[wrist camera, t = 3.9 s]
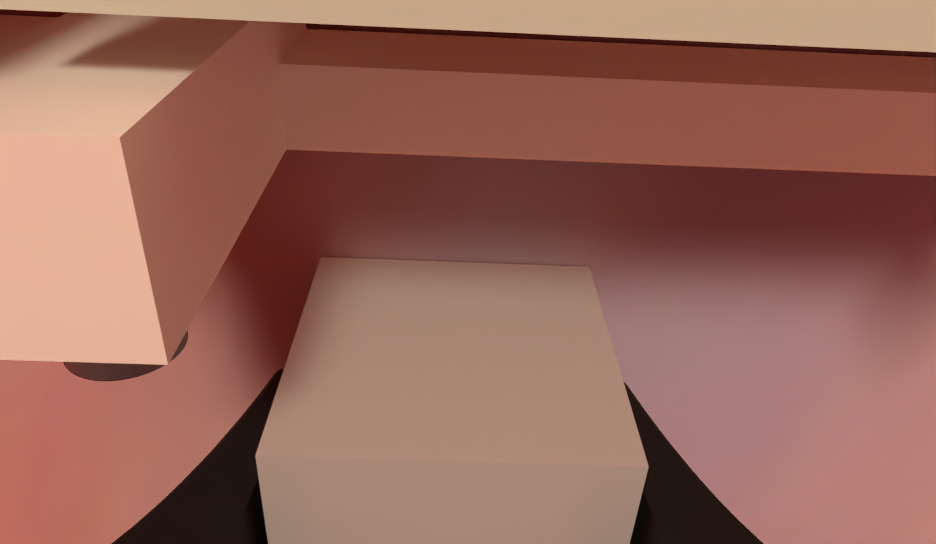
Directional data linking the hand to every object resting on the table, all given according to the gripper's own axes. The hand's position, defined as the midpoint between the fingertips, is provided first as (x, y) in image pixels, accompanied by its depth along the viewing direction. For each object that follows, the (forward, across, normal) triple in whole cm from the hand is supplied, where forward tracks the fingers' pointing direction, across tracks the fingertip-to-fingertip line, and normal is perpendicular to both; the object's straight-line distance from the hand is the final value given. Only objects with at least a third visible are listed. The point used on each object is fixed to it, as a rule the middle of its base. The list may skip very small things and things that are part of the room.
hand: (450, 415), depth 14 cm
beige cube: (+1, 0, 0) cm, 1 cm away
